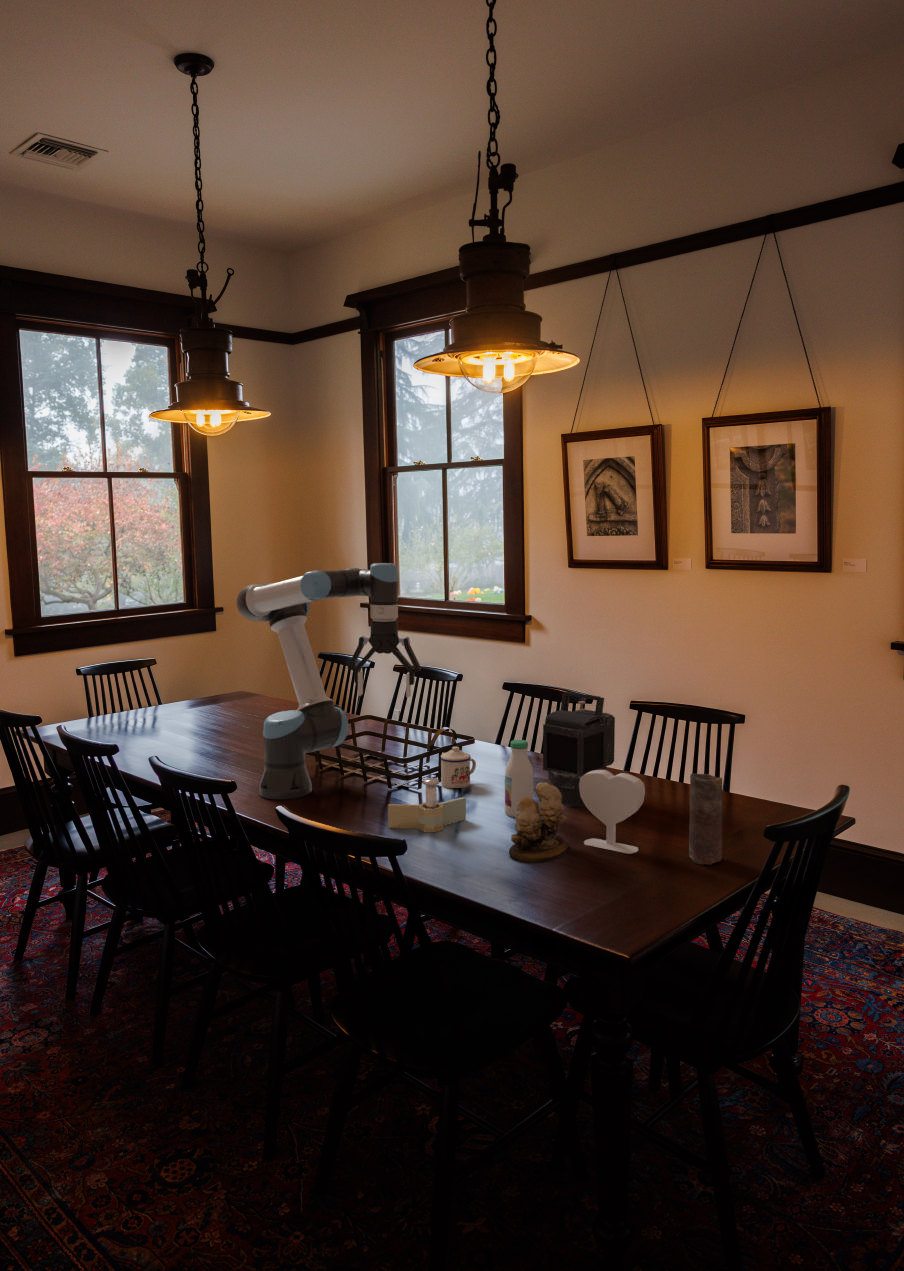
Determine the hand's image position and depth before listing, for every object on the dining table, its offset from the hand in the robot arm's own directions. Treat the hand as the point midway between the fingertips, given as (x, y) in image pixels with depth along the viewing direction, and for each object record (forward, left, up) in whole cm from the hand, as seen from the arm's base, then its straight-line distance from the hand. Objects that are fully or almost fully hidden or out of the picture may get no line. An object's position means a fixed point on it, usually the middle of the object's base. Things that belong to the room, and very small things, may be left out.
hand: (384, 695), depth 240 cm
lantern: (+54, +9, -31) cm, 63 cm away
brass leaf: (+12, -20, -31) cm, 38 cm away
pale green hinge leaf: (+18, -17, -31) cm, 40 cm away
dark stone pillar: (+82, -35, -31) cm, 94 cm away
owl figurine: (+44, -33, -31) cm, 63 cm away
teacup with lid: (+19, +20, -31) cm, 41 cm away
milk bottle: (+38, -6, -31) cm, 49 cm away
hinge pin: (+16, -20, -31) cm, 40 cm away
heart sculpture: (+61, -28, -31) cm, 74 cm away
